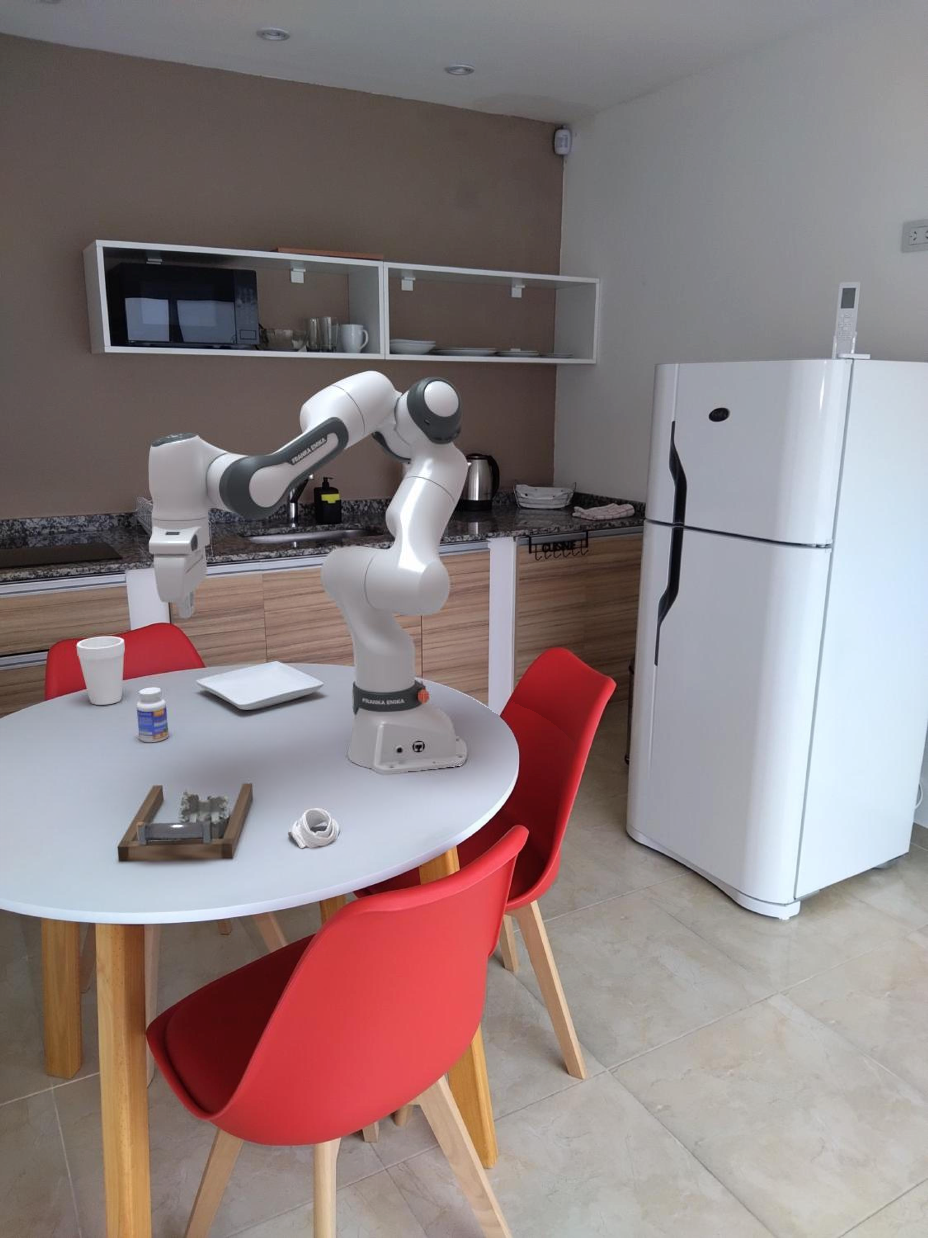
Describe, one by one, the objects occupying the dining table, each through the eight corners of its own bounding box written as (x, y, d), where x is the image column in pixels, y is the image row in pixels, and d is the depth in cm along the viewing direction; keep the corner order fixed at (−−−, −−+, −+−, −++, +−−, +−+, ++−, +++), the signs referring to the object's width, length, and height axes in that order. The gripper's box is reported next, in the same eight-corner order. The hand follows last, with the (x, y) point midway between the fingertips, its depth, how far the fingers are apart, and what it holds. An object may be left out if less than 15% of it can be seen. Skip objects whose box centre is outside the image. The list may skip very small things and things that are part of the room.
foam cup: (72, 703, 190) (66, 645, 187) (105, 690, 199) (99, 634, 195) (106, 709, 187) (101, 650, 184) (138, 696, 195) (133, 639, 192)
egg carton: (182, 812, 141) (182, 788, 140) (231, 811, 143) (231, 787, 142) (175, 843, 131) (175, 817, 130) (227, 842, 133) (227, 816, 132)
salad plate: (241, 719, 184) (240, 703, 183) (194, 693, 199) (193, 678, 198) (327, 696, 198) (326, 682, 197) (277, 673, 213) (276, 660, 212)
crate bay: (252, 799, 148) (252, 783, 147) (232, 862, 128) (231, 843, 128) (154, 802, 146) (153, 785, 146) (119, 865, 127) (117, 847, 126)
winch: (213, 837, 129) (211, 817, 128) (209, 845, 127) (208, 825, 126) (141, 839, 128) (139, 819, 128) (136, 847, 126) (134, 827, 125)
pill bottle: (159, 744, 170) (155, 696, 167) (133, 741, 171) (129, 694, 168) (173, 733, 175) (170, 687, 172) (148, 731, 176) (145, 684, 173)
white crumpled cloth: (322, 824, 140) (322, 796, 139) (350, 838, 136) (350, 809, 135) (281, 842, 135) (280, 813, 133) (308, 858, 130) (307, 828, 129)
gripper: (176, 524, 155) (181, 601, 159) (145, 545, 135) (152, 632, 139) (213, 524, 156) (217, 601, 159) (187, 545, 136) (193, 632, 139)
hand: (186, 616), depth 149 cm, fingers closed
